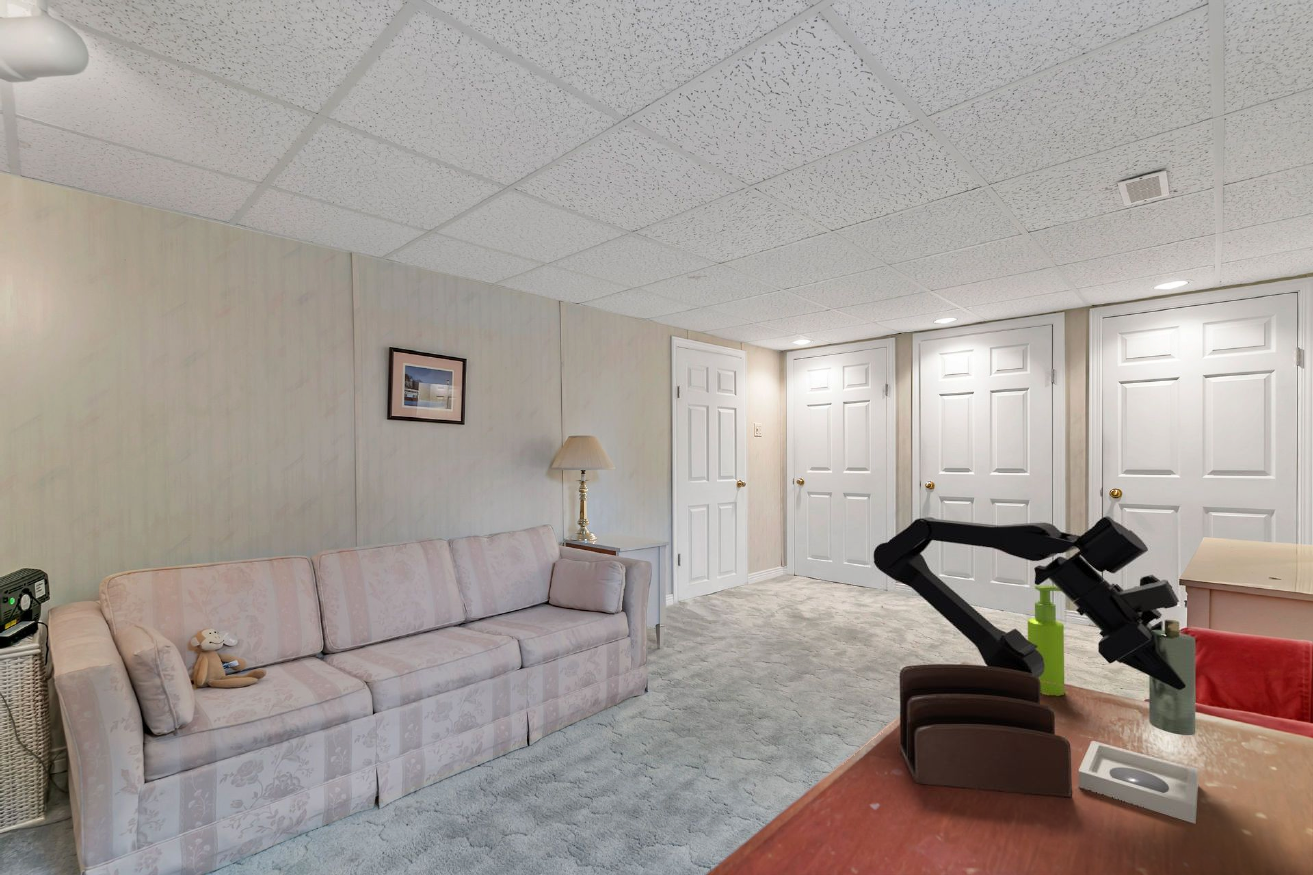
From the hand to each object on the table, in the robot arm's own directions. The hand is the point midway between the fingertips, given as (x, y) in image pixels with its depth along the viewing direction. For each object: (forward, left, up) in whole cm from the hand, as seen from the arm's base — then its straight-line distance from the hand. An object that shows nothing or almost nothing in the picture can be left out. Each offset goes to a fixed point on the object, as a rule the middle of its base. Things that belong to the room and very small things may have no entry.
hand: (1184, 682), depth 85 cm
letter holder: (-22, -18, -14) cm, 31 cm away
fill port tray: (-5, -7, -13) cm, 16 cm away
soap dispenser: (-21, +24, -14) cm, 35 cm away
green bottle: (-1, 0, -7) cm, 7 cm away
